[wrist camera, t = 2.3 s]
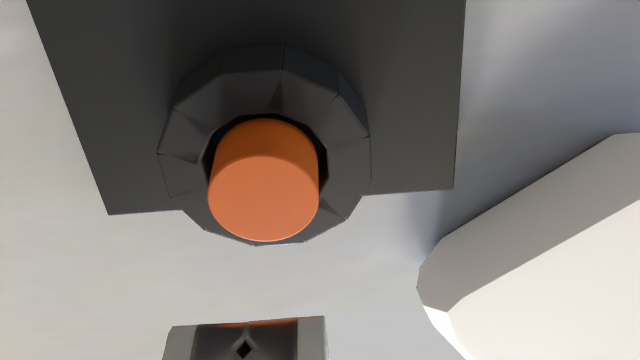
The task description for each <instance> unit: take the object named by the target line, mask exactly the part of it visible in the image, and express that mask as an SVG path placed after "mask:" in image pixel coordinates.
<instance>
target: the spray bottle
mask: <svg viewBox="0 0 640 360" xmlns="http://www.w3.org/2000/svg"><path fill="white" fill-rule="evenodd" d="M416 288H417V291H418V293H419V296H420V298H421V301H422V304H423V306H424V308H425V310H426V312H427V314H428V316H429V318H430V320H431V322H432V324H433V326H434V327H435V328H436V329H437V330H438V331H439V332H440V333H441V334H442V335H443V336H444V337H445V338H446V339H447V340H448V341H449V342H450V343H451V344H452V345H453V346H454V347H455V348H456V349H457V350H458V351H459V352H460V353H461V354H462V355H463V357H464V358H465V359H466V360H640V133H625V134H614V135H612V136H610V137H608V138H607V139H605V140H603V141H602V142H600V143H598V144H597V145H595V146H593V147H592V148H590V149H588V150H587V151H585V152H584V153H582V154H580V155H579V156H577V157H575V158H574V159H572V160H570V161H569V162H567V163H565V164H564V165H562V166H560V167H559V168H557V169H555V170H554V171H552V172H550V173H549V174H547V175H546V176H544V177H542V178H541V179H539V180H537V181H536V182H534V183H532V184H531V185H529V186H527V187H526V188H524V189H522V190H521V191H519V192H517V193H516V194H514V195H512V196H511V197H509V198H508V199H506V200H504V201H503V202H501V203H499V204H498V205H496V206H494V207H493V208H491V209H489V210H488V211H486V212H484V213H483V214H481V215H479V216H478V217H476V218H475V219H473V220H471V221H470V222H468V223H466V224H465V225H463V226H461V227H460V228H458V229H456V230H455V231H453V232H451V233H450V234H448V235H446V236H445V237H443V238H442V239H441V240H440V241H439V243H438V244H437V245H436V247H435V248H434V249H433V250H432V252H431V253H430V254H429V256H428V257H427V258H426V260H425V261H424V262H423V264H422V265H421V266H420V269H419V275H418V281H417V287H416Z"/></svg>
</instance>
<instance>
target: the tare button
mask: <svg viewBox="0 0 640 360" xmlns="http://www.w3.org/2000/svg"><path fill="white" fill-rule="evenodd" d="M207 200H208V205H209V208H210V210H211V212H212V214H213V216H214V218H215V219H216V220H217V221H218V223H219V224H220V225H221V226H223V227H224V228H225V229H226V230H228V231H229V232H231V233H233V234H235V235H237V236H239V237H242V238H245V239H248V240H253V241H263V242H265V241H277V240H282V239H285V238H288V237H291V236H293V235H295V234H297V233H298V232H300V231H301V230H303V229H304V228H305V227H306V226H307V225H308V224H309V223H310V222H311V220H312V219H313V218H314V216H315V214H316V212H317V209H318V204H319V184H318V158H317V153H316V150H315V147H314V145H313V143H312V142H311V140H310V139H309V138H308V137H307V135H306V134H305V133H304V132H302V131H301V130H300V129H299V128H297V127H295V126H294V125H292V124H290V123H287V122H285V121H282V120H278V119H272V118H258V119H251V120H248V121H245V122H242V123H240V124H238V125H236V126H234V127H233V128H232V129H230V130H229V131H228V132H227V133H226V134H225V135H224V136H223V137H222V139H221V140H220V142H219V144H218V146H217V149H216V153H215V157H214V162H213V167H212V171H211V176H210V180H209V185H208V190H207Z"/></svg>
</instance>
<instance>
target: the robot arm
mask: <svg viewBox="0 0 640 360" xmlns="http://www.w3.org/2000/svg"><path fill="white" fill-rule="evenodd" d="M162 360H329V350H328V341H327V332H326V323H325V317H324V316H313V317H299V318H298V317H294V318H283V319H271V320H259V321H249V322H244V323H222V324H201V325H186V326H173V327H172V328H171V330H170V332H169V333H168V337H167V341H166V346H165V350H164V354H163V358H162Z"/></svg>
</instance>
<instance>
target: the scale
mask: <svg viewBox="0 0 640 360" xmlns="http://www.w3.org/2000/svg"><path fill="white" fill-rule="evenodd" d="M26 2H27V4H28V7H29V9H30V12H31V15H32V17H33V20H34V22H35V25H36V28H37V30H38V33H39V35H40V38H41V41H42V43H43V46H44V48H45V51H46V54H47V56H48V59H49V62H50V64H51V67H52V69H53V72H54V75H55V77H56V80H57V82H58V85H59V88H60V90H61V93H62V95H63V98H64V101H65V103H66V106H67V108H68V111H69V114H70V116H71V119H72V121H73V124H74V127H75V129H76V132H77V135H78V137H79V140H80V142H81V145H82V148H83V150H84V153H85V155H86V158H87V161H88V163H89V166H90V168H91V171H92V174H93V176H94V179H95V181H96V184H97V187H98V189H99V192H100V194H101V197H102V200H103V202H104V205H105V208H106V210H107V213H108V215H122V214H135V213H148V212H161V211H174V210H183V211H184V212H185V213H186V214H187V215H188V216H189V217H190V218H191V219H192V220H193V221H195V222H196V223H197V224H198V225H199V226H200V227H201V228H202V229H203V230H206V231H208V232H211V233H214V234H217V235H220V236H223V237H226V238H229V239H232V240H235V241H238V242H241V243H245V244H248V245H251V246H253V245H254V246H255V247H257V246H271V245H284V244H297V243H304V242H307V241H308V240H310V239H312V238H314V237H316V236H318V235H320V234H322V233H323V232H325V231H327V230H329V229H331V228H333V227H335V226H337V225H338V224H340V223H342V222H344V221H345V220H346V219H348V218H349V216H350V214H351V213H352V211H353V210H354V208H355V207H356V205H357V204H358V202H359V201H360V199H361V198H362V196H369V195H382V194H395V193H408V192H421V191H434V190H447V189H453V187H454V172H455V157H456V142H457V127H458V113H459V98H460V83H461V68H462V53H463V38H464V24H465V9H466V0H26ZM258 118H272V119H278V120H282V121H285V122H287V123H290V124H292V125H294V126H295V127H297V128H299V129H300V130H301V131H302V132H304V133H305V134H306V135H307V137H308V138H309V139H310V140H311V142H312V143H313V145H314V147H315V150H316V153H317V158H318V184H319V204H318V209H317V212H316V214H315V216H314V218H313V219H312V220H311V222H310V223H309V224H308V225H307V226H306V227H305V228H304V229H303V230H301V231H300V232H298V233H297V234H295V235H293V236H291V237H288V238H285V239H282V240H277V241H265V242H263V241H253V240H248V239H245V238H242V237H239V236H237V235H235V234H233V233H231V232H229V231H228V230H226V229H225V228H224V227H223V226H221V225H220V224H219V223H218V221H217V220H216V219H215V218H214V216H213V214H212V212H211V210H210V208H209V205H208V200H207V190H208V185H209V180H210V176H211V171H212V167H213V162H214V157H215V153H216V149H217V146H218V144H219V142H220V140H221V139H222V137H223V136H224V135H225V134H226V133H227V132H228V131H229V130H230V129H232V128H233V127H234V126H236V125H238V124H240V123H242V122H245V121H248V120H251V119H258Z"/></svg>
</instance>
